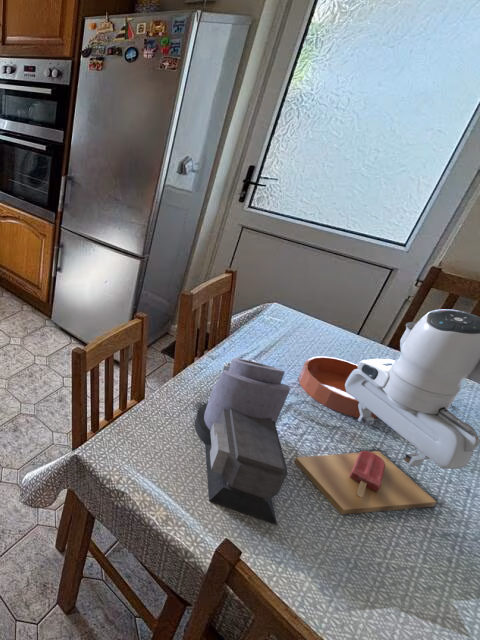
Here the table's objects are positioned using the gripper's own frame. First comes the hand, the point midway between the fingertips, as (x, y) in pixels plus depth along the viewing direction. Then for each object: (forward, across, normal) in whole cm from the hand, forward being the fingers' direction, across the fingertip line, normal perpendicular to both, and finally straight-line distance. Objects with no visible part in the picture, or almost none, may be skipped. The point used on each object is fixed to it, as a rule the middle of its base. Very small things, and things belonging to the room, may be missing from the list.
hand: (386, 442), depth 82 cm
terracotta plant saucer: (+13, +25, -18) cm, 34 cm away
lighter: (+13, +32, +6) cm, 35 cm away
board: (+12, 0, 0) cm, 13 cm away
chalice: (+13, +27, -36) cm, 47 cm away
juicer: (+12, +9, +22) cm, 27 cm away
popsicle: (+11, 0, 0) cm, 11 cm away
